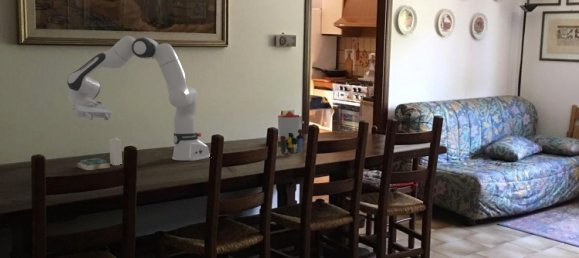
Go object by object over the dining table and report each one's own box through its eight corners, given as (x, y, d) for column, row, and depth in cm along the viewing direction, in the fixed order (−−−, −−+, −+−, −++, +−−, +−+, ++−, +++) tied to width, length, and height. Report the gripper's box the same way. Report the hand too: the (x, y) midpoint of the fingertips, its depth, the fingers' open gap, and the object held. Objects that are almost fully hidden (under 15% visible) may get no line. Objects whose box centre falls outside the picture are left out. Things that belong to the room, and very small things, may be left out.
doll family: (292, 150, 357) (291, 127, 355) (306, 150, 354) (306, 128, 352) (277, 156, 335) (277, 132, 334) (293, 157, 332) (292, 133, 331)
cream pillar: (118, 163, 315) (117, 137, 313) (122, 164, 312) (121, 137, 310) (110, 164, 312) (109, 137, 311) (114, 165, 309) (112, 138, 307)
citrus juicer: (307, 142, 387) (307, 111, 384) (281, 144, 382) (281, 112, 380) (300, 139, 402) (300, 109, 399) (275, 140, 397) (274, 110, 395)
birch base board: (100, 164, 313) (100, 157, 312) (110, 167, 304) (109, 160, 303) (77, 167, 305) (77, 160, 305) (86, 170, 296) (86, 163, 296)
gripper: (71, 100, 317) (83, 112, 309) (105, 102, 333) (117, 114, 325) (67, 111, 319) (79, 123, 311) (102, 113, 335) (114, 124, 327)
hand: (99, 118), depth 318 cm, fingers open, 8 cm apart
